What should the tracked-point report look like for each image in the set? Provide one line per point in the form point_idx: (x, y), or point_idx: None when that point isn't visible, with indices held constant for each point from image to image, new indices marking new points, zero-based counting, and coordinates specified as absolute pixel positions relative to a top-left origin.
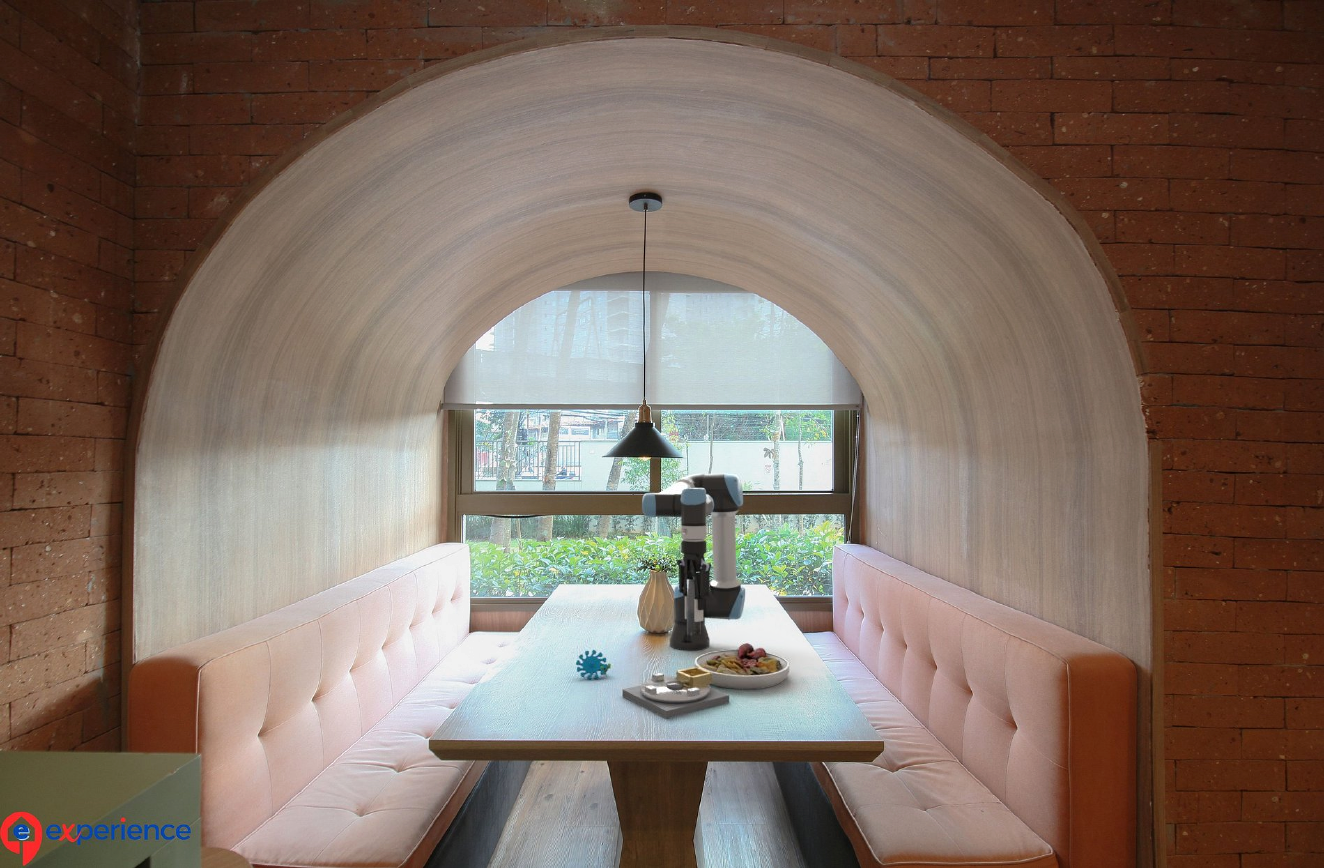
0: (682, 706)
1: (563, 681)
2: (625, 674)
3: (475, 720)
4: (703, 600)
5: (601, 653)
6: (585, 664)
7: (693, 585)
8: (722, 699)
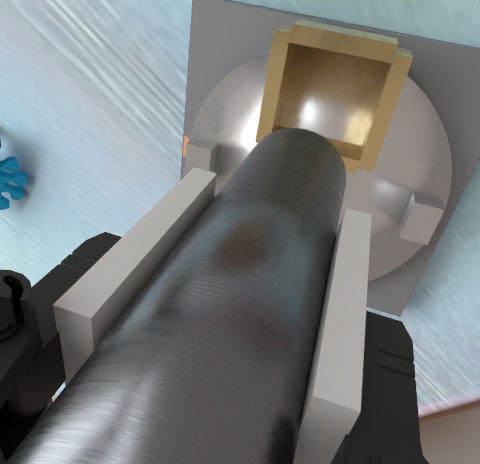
0: (419, 268)
1: (9, 237)
2: (20, 82)
3: None
4: (414, 444)
5: None
6: None
7: None
8: None
